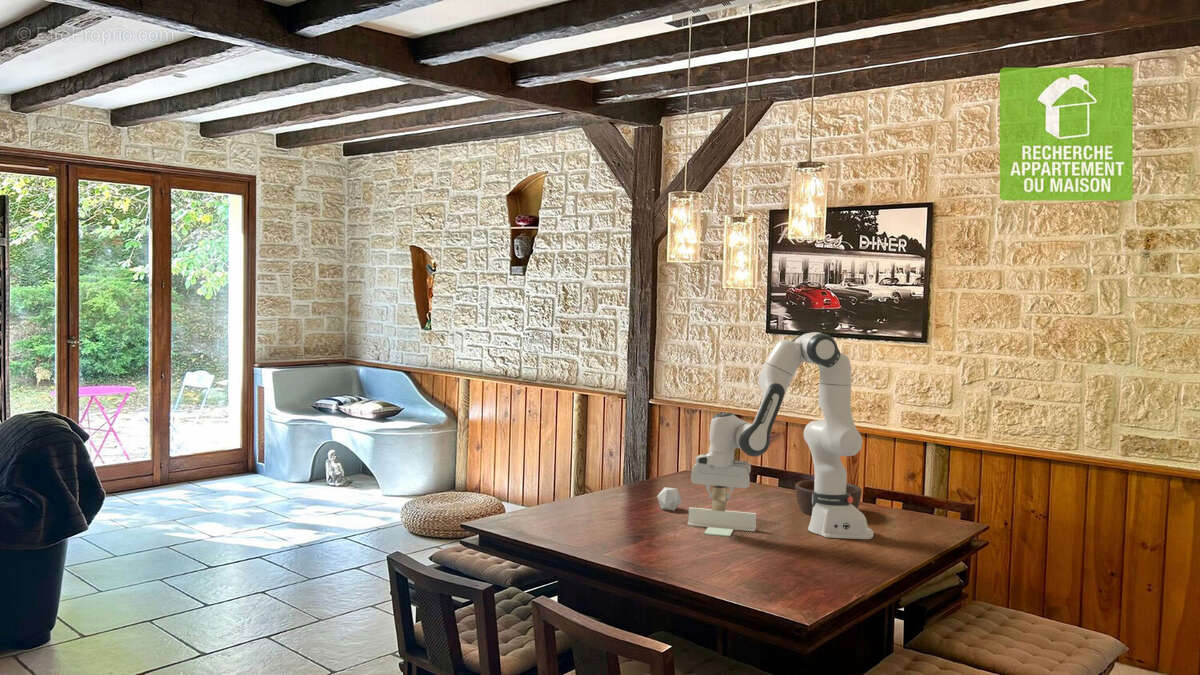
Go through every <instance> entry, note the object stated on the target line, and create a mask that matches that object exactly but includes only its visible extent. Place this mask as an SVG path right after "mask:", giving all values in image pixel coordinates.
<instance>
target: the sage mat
mask: <svg viewBox="0 0 1200 675" xmlns="http://www.w3.org/2000/svg"><path fill="white" fill-rule="evenodd" d="M733 532H734V530H733V529H726V528H715V527H706V529H705V531H704V533H703V535H709V536H717V537H718V536H719V537H720V536H721V537H728V538H729V537H731V536H732V534H733Z"/></svg>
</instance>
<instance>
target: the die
mask: <svg viewBox="0 0 1200 675" xmlns="http://www.w3.org/2000/svg"><path fill="white" fill-rule="evenodd" d="M656 498H657V502H658V503H659V506H660V510H665V511H675V510H676V509H678V507H679V506H680V505H681V503H682V497H681V494H680V492H679V489H678V488H674V487H667V486H666V487H663V489H662V490H661V491H660V492H659V493H658V495H657V496H656Z"/></svg>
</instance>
